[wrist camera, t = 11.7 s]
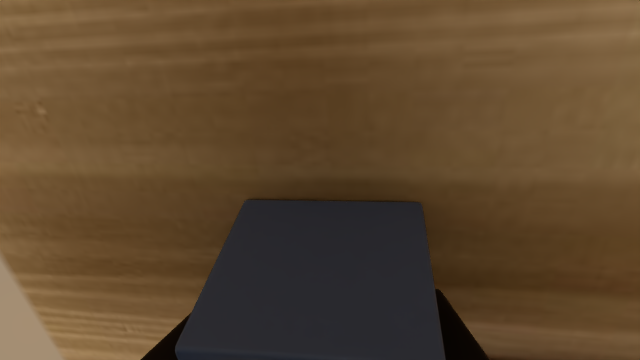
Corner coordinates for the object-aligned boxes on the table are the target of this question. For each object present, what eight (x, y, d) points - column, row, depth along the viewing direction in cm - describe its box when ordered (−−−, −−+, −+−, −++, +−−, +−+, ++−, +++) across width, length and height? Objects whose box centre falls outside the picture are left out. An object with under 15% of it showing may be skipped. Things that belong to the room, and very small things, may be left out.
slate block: (267, 315, 12) (221, 476, 8) (244, 197, 10) (171, 349, 6) (412, 323, 11) (427, 499, 8) (422, 200, 9) (448, 368, 6)
